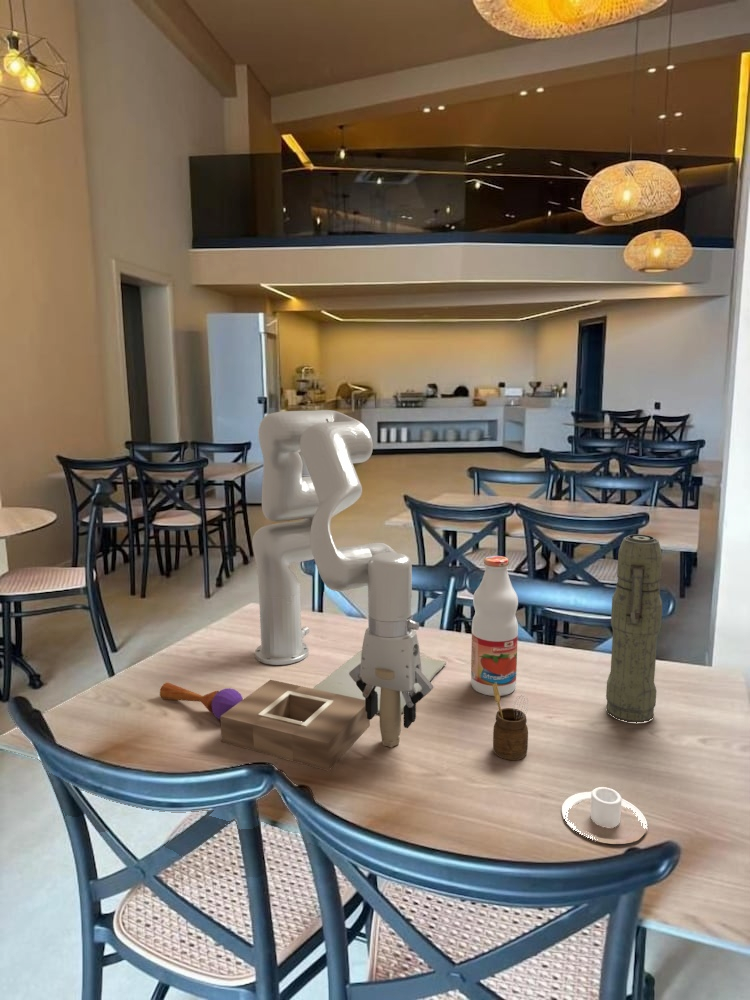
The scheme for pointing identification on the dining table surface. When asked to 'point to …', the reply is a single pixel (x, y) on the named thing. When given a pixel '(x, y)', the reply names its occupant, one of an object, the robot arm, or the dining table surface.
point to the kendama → (204, 698)
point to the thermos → (635, 630)
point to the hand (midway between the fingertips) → (390, 719)
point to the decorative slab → (347, 686)
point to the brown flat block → (296, 723)
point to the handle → (389, 711)
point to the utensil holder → (510, 731)
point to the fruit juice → (494, 630)
